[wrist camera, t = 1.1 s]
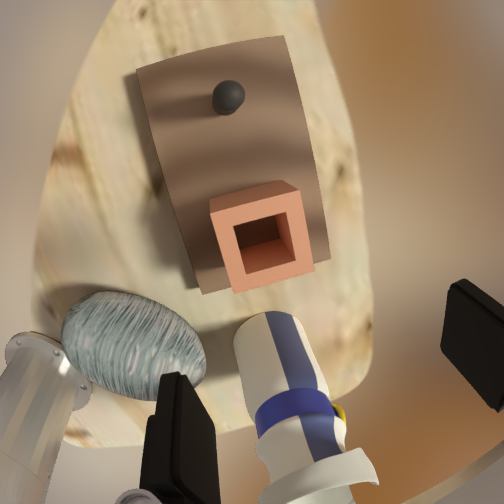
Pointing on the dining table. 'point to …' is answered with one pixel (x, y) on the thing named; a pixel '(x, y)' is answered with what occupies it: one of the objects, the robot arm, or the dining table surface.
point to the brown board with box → (230, 143)
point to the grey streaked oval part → (130, 344)
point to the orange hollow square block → (269, 253)
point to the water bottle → (295, 416)
